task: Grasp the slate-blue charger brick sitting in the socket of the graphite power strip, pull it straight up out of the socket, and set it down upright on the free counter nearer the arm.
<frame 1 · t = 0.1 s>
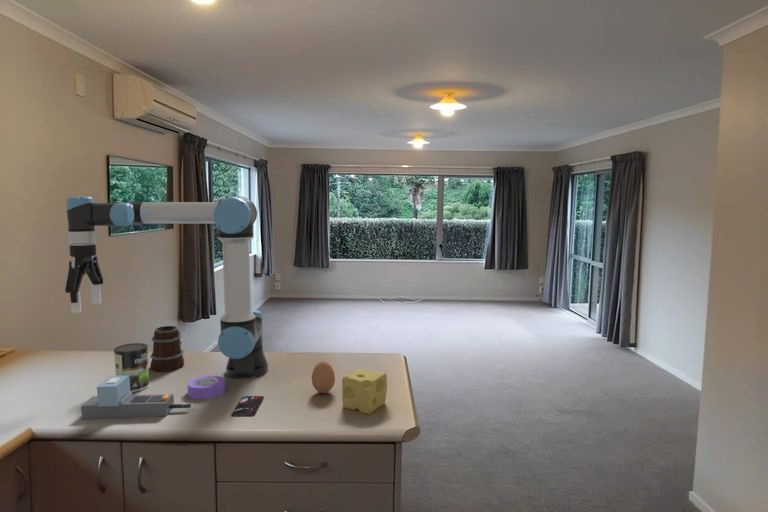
hand: (86, 307, 170), 28 cm above the worktop, fingers open, 13 cm apart
charger: (114, 400, 154), point 4 cm above the worktop, touching power strip
egg: (323, 393, 170), on the worktop
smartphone: (248, 408, 160), on the worktop
masking tape: (206, 393, 171), on the worktop
cheese: (364, 406, 161), on the worktop
power strip: (129, 412, 155), on the worktop
coffee can: (133, 387, 175), on the worktop
mug: (170, 365, 198), on the worktop
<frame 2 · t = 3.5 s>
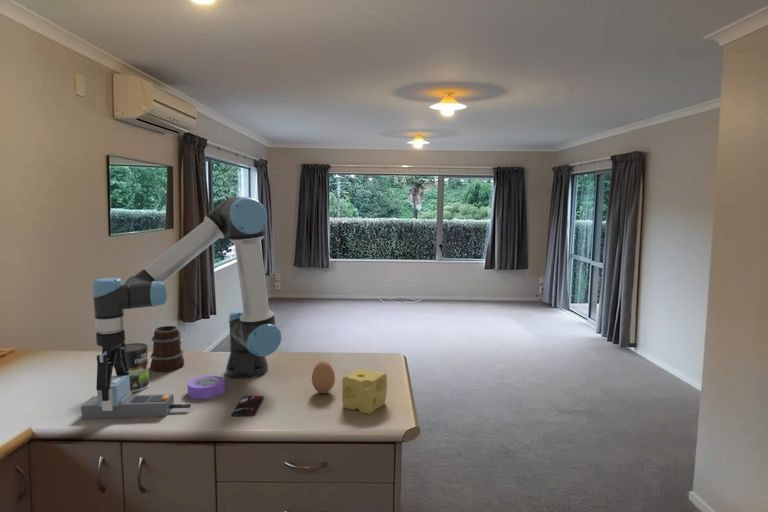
hand: (115, 403, 154), 3 cm above the worktop, fingers closed on charger, 9 cm apart
charger: (114, 400, 154), point 4 cm above the worktop, touching gripper, power strip
everything else where it was.
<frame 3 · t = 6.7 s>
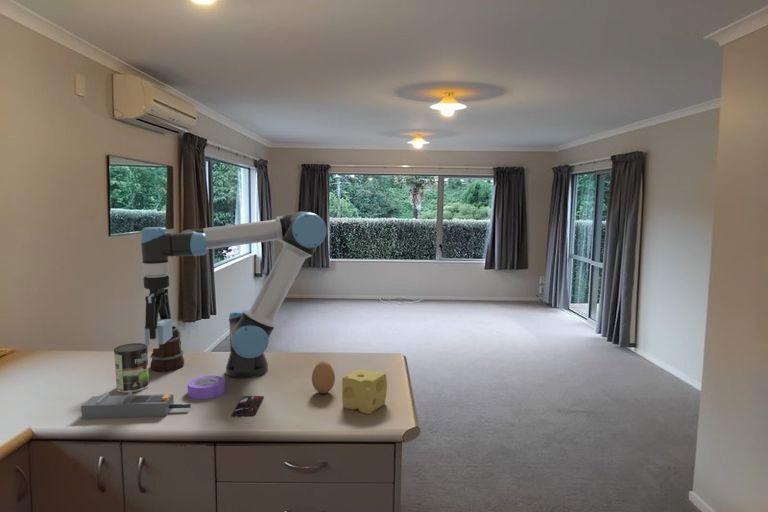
hand: (159, 343, 167), 17 cm above the worktop, fingers closed on charger, 9 cm apart
charger: (159, 340, 167), point 18 cm above the worktop, touching gripper
everything else where it was.
when the fingers open (1 cm above the worktop, at t = 10.0 s): charger drops 3 cm, on the worktop.
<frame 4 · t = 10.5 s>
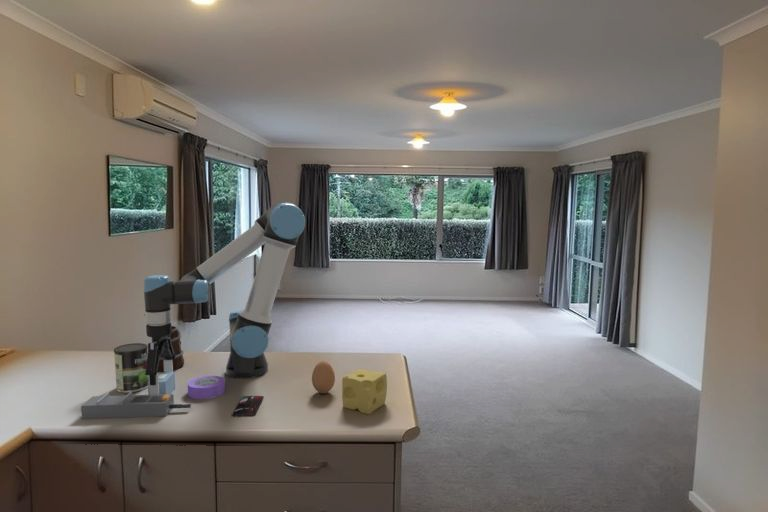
hand: (161, 386, 169), 3 cm above the worktop, fingers open, 13 cm apart
charger: (162, 394, 169), on the worktop
everything else where it was.
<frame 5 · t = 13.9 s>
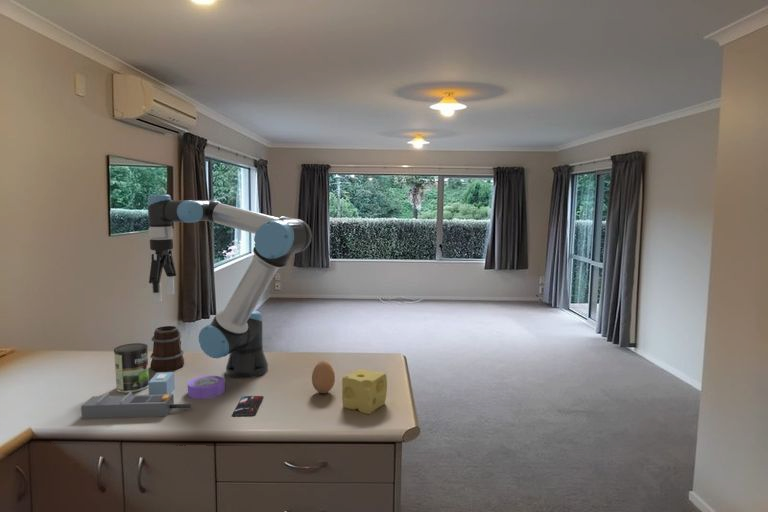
hand: (164, 297, 183), 29 cm above the worktop, fingers open, 13 cm apart
nothing on the worktop moved.
at the end: charger inside the target area (0.0 cm from its centre), on the worktop; charger tilted 0°; charger touching worktop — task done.
